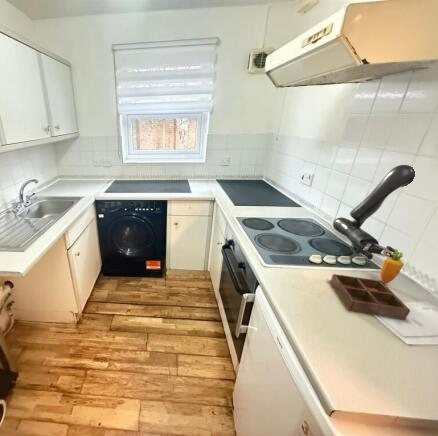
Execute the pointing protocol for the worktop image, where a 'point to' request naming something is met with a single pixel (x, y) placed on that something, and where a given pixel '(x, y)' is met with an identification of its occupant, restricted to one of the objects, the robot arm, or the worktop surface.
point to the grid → (369, 297)
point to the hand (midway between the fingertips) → (384, 259)
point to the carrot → (391, 267)
